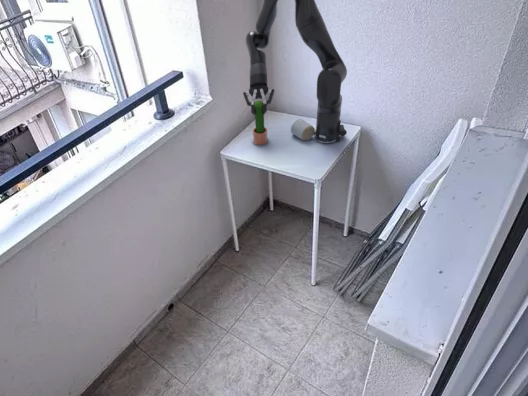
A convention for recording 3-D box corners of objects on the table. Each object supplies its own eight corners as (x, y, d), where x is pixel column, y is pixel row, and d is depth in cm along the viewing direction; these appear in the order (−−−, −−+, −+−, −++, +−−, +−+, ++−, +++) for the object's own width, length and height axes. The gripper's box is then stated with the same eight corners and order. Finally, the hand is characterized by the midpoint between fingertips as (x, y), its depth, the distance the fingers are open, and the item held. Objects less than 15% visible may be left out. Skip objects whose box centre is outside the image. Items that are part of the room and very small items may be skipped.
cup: (267, 138, 170) (266, 126, 166) (267, 145, 165) (266, 133, 161) (253, 139, 172) (253, 127, 168) (253, 146, 167) (252, 134, 163)
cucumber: (264, 128, 166) (263, 98, 156) (264, 133, 163) (262, 102, 153) (256, 129, 167) (254, 99, 157) (255, 133, 164) (253, 103, 154)
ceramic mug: (302, 143, 161) (303, 128, 156) (290, 136, 167) (290, 122, 162) (321, 135, 163) (322, 120, 158) (308, 128, 169) (309, 114, 164)
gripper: (241, 74, 157) (241, 112, 156) (274, 70, 153) (275, 109, 152) (242, 80, 164) (243, 117, 163) (275, 77, 160) (275, 115, 159)
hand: (259, 113), depth 157 cm, fingers closed on cucumber, 4 cm apart
